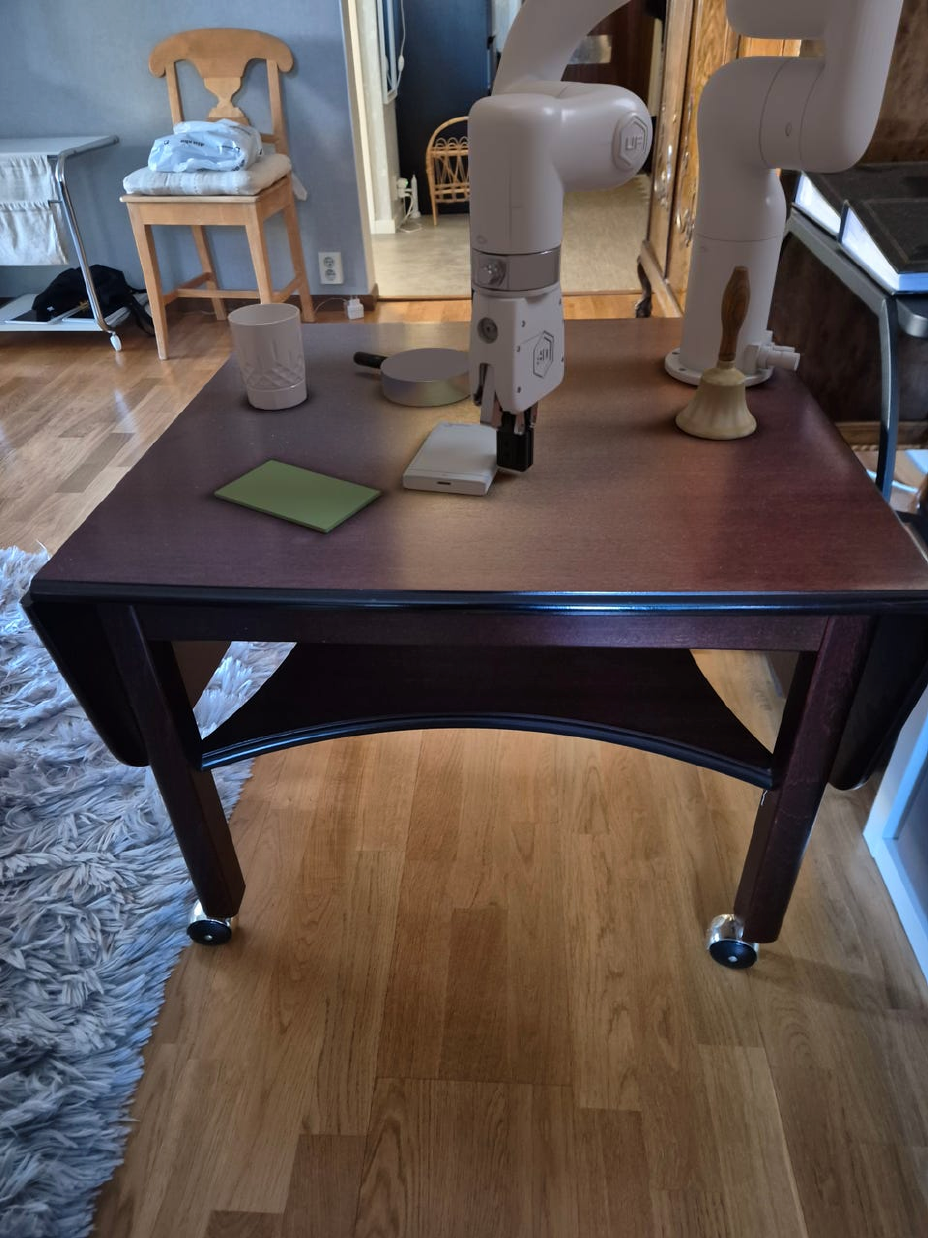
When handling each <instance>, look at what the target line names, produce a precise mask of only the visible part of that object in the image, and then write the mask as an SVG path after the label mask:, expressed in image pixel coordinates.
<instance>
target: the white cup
mask: <svg viewBox="0 0 928 1238" xmlns="http://www.w3.org/2000/svg"><path fill="white" fill-rule="evenodd" d="M300 312H301V311H300V308H299V307H297V306H296V305H294V304H290V303H284V302H264V303H255V304H250V305H245V306H243V307H242V306H241V307H239V308H237V309H234V310H232V311H231V312H230V313H229V314H228V315H227V321H228V325H229V329H230V333H231V337H232V341H233V345H234V349H235V354H236V357H237V360H238V364H239V368H240V372H241V376H242V378H243V379H242V380H243V381H244V383H245V389H246V393H247V397H248V401H249V403H250V404H251V405H252V406H253V407H254V408H256V409H261V410H265V411H267V410H273V411H274V410H283V409H284V410H285V409H289V408H293V407H295V406H297V405H300V404H301V403H303V402H304V401H306V399H307V397H308V396H307V395H308V391H307V383H306V359H305V350H304V349H305V348H304V341H303V332H302V321H301V313H300Z"/></svg>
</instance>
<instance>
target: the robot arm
mask: <svg viewBox="0 0 928 1238" xmlns="http://www.w3.org/2000/svg"><path fill="white" fill-rule="evenodd" d="M630 1H632V0H524V2H523V3H522V4H521V6H520V8H519V9H518V12H517V13H516V16H515V18H514V19H513V22H512V24H511V26H510V28H509V30H508V33H507V35H506V38H505V41H504V45H503V48H502V51H501V56H500V59H499V63H498V67H497V70H496V75H495V78H494V81H493V82H494V85H493V84H492V90H491V94H490V95H489V96H485V97H483V98H480V99H479V100H476V101H475V103H473V104H472V105H471V108H470V110H469V113H468V117H467V158H468V159H467V161H468V191H469V192H468V194H469V198H468V199H469V209H470V217H469V244H470V243H471V262H470V280H471V279H472V289H473V290H474V291H475V292H474V293H473V303H472V306H471V314H470V325H469V342H468V343H469V344H468V355H469V383H470V398H471V402H472V404H473V405H474V406H475V407H480V414H479V415H480V416H479V424H480V425H482V426H487V427H491V428H493V429H494V430H496V461H497V465H498V466H499V468H502V469H507V470H511V471H515V472H520V473H525V472H526V471H527V470H528V469H529V468H531V467H533V465H534V455H535V453H534V449H535V448H534V447H535V446H534V445H535V444H534V443H535V428H534V427H535V425H536V423H537V419H538V408H539V402H540V400H541V399H543V398H545V397H546V396H547V395H548V394H550V393H551V392H552V391H554V390H555V389H557V387H559V385H560V384H561V383H562V381H563V379H564V376H565V318H564V317H565V315H564V314H565V313H564V301H563V292H562V283H561V269H562V267H561V265H562V242H563V241H562V240H563V239H562V238H563V212H564V211H563V210H564V209H563V208H564V196H565V195H566V194H567V193H569V192H570V193H571V192H605V191H606V192H607V191H610V190H614V189H616V188H618V187H621V186H623V185H624V184H626V183H627V182H629V181H630V180H631V179H633V178H634V177H635V176H636V175H637V174H638V173H639V171H640V170H641V169H642V167H643V165H644V164H645V162H646V160H647V158H648V156H649V153H650V151H651V146H652V142H653V123H652V117H651V114H650V112H649V109H648V107H647V106H646V104H645V103H644V101H643V100H642V99H641V98H640V96H638V95H637V94H636V93H634V92H633V91H631V90H629V89H627V88H625V87H622V86H620V85H614V84H605V83H586V82H585V83H584V82H579V81H576V82H575V81H561V80H562V77H563V75H564V72H565V69H566V68H567V65H568V64H569V61H570V60H571V58H572V56H573V54H574V53H575V51H576V50H577V48H578V47H579V45H580V44H581V43H582V42H583V41H584V39H585V38H586V37H587V35H588V34H589V33H590V32H591V31H592V30H593V29H594V28H595V27H596V26H597V25H598V24H599V23H601V22H602V21H603V20H604V19H605V18H607V17H608V16H609V15H611V14H612V13H614V12H615V11H616V10H618V9H620V8H621V7H622V6H625V5H626V4H628V3H629V2H630ZM903 5H904V0H725V14H726V19H727V22H728V24H729V26H730V28H731V29H732V31H734V32H735V33H736V34H738V35H739V36H742V37H745V38H749V39H750V38H751V39H756V40H757V39H758V40H760V39H761V40H783V41H785V40H786V41H788V40H790V41H791V40H793V41H824V43H825V57H801V56H797V55H796V56H791V55H790V56H789V55H753V56H743V57H739V58H736V59H735V58H734V59H732V60H731V61H728V62H726V63H724V64H722V65H721V66H720V67H718V68H717V69H716V70H715V71H714V72H713V73H712V74H711V75H710V77H709V78H708V79H707V80H706V82H705V84H704V86H703V88H702V90H701V93H700V96H699V100H698V103H697V110H696V111H697V113H696V139H697V140H696V141H697V157H698V158H697V159H698V160H697V161H698V179H697V180H698V181H697V195H696V205H695V217H694V224H693V233H692V242H691V249H690V250H691V251H690V258H689V266H688V267H689V268H688V276H687V285H686V293H685V302H684V310H683V319H682V328H681V335H680V344H679V347H677V348H675V349H672V350H670V351H669V352H668V353H667V354H666V356H665V358H664V370H665V371H666V372H667V374H669V376H671V377H673V378H675V380H677V381H680V382H683V383H686V384H689V385H694V386H698V385H699V382H700V378H701V375H702V373H703V372H704V371H705V370H707V369H710V368H713V367H715V366H716V365H717V360H718V354H719V352H720V351H719V350H720V345H721V340H722V334H723V327H722V320H721V306H722V299H723V294H724V291H725V288H726V286H727V284H728V282H729V280H730V278H731V276H732V273H733V271H734V268H735V267H736V266H746V267H748V276H749V282H750V291H751V295H750V303H749V308H748V312H747V315H746V318H745V320H744V322H743V324H742V327H741V329H740V331H739V335H738V341H737V349H736V358H735V359H734V360H735V363H734V368H735V369H737V370H739V371H740V372H742V373H743V374H744V376H745V378H746V381H745V388H747V387H751V386H754V385H758V384H761V383H763V382H765V381H766V380H768V379H769V378H771V376H772V375H773V370H774V367H775V368H778V369H779V370H780V369H781V370H787V371H793V372H795V371H797V368H798V366H799V364H800V363H799V362H800V359H801V354H800V353H798V352H795V350H796V347H791V346H786V345H776V343H775V342H774V341H773V342H772V338H773V333H774V332H773V331H772V330H768V329H767V327H768V322H769V316H770V311H771V304H772V299H773V294H774V287H775V283H776V276H777V271H778V265H779V260H780V254H781V253H780V252H781V250H782V249H781V248H782V244H783V243H782V242H783V238H784V237H783V236H784V233H785V227H786V221H787V201H786V196H785V193H784V189H783V186H782V182H781V180H780V177H779V175H778V172H777V170H778V169H779V170H787V171H788V170H789V171H790V170H791V171H799V172H809V173H818V174H819V173H820V174H834V173H835V174H836V173H840V172H843V171H846V170H848V169H850V168H852V167H853V166H855V164H857V163H858V162H859V160H860V159H861V158H862V157H863V156H864V154H865V153H866V151H867V149H868V147H869V146H870V143H871V142H872V141H871V140H872V138H873V135H874V133H875V130H876V127H877V123H878V119H879V117H880V112H881V107H882V103H883V99H884V94H885V91H886V90H885V89H886V84H887V80H888V76H889V71H890V67H891V66H890V65H891V62H892V61H891V60H892V56H893V51H894V47H895V41H896V37H897V33H898V28H899V24H900V18H901V14H902V9H903ZM776 169H777V170H776Z"/></svg>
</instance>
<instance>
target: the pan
mask: <svg viewBox="0 0 928 1238" xmlns="http://www.w3.org/2000/svg"><path fill="white" fill-rule="evenodd" d="M352 359H353V362H354V363H355V365H358V366H361V367H367V368H371V369H375V370H376V369H377V370H380V375H381V376H380V378H381V385H382V386H381V387H382V394H383V396H384V397H385V398H386V399H387V400H389V401H391V402H393V403H394V404H398V405H401V406H408V407H420V408H421V407H422V408H426V407H427V408H428V407H429V408H430V407H439V406H445V405H450V404H453V403H457V402H459V401H462V400H465V399H467V398H468V397H469V396H471V394H470V383H469V353H466V352H464V351H462V350H461V351H460V350H457V349H452V348H445V347H444V348H443V347H422V348H413V349H407V350H404V351H401V352H397V353H395V354H392V355H389V356H385V355H380V354H374V353H371V352H370V353H369V352H365V351H356V352H355V353H354V354H353V357H352Z"/></svg>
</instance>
